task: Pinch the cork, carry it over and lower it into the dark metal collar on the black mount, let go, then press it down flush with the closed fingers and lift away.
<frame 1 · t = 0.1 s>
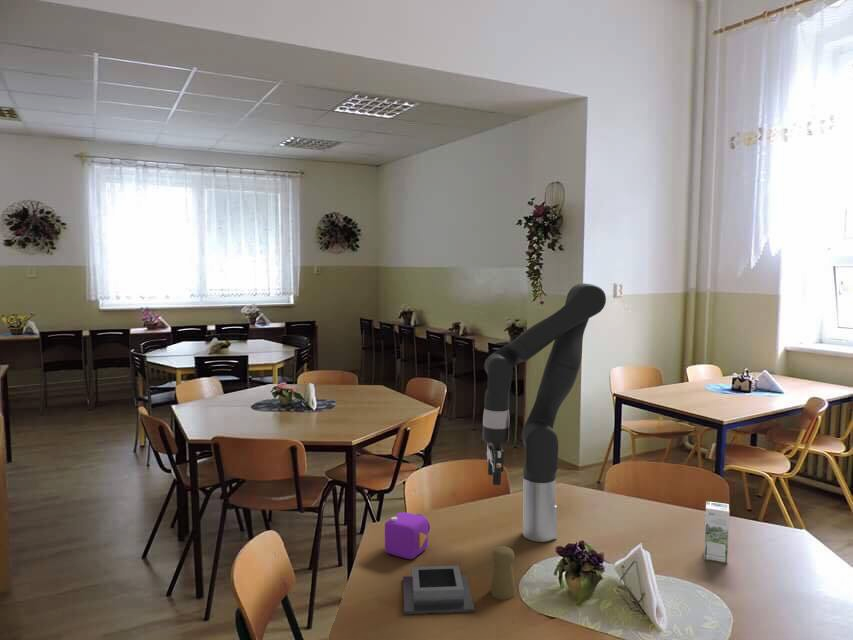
hand: (494, 479, 180), 17 cm above the table, tool pointing down, fingers open, 8 cm apart
collar mount: (437, 595, 150), on the table
syrup box: (715, 558, 168), on the table
toy camera: (409, 549, 175), on the table
cork: (503, 593, 151), on the table
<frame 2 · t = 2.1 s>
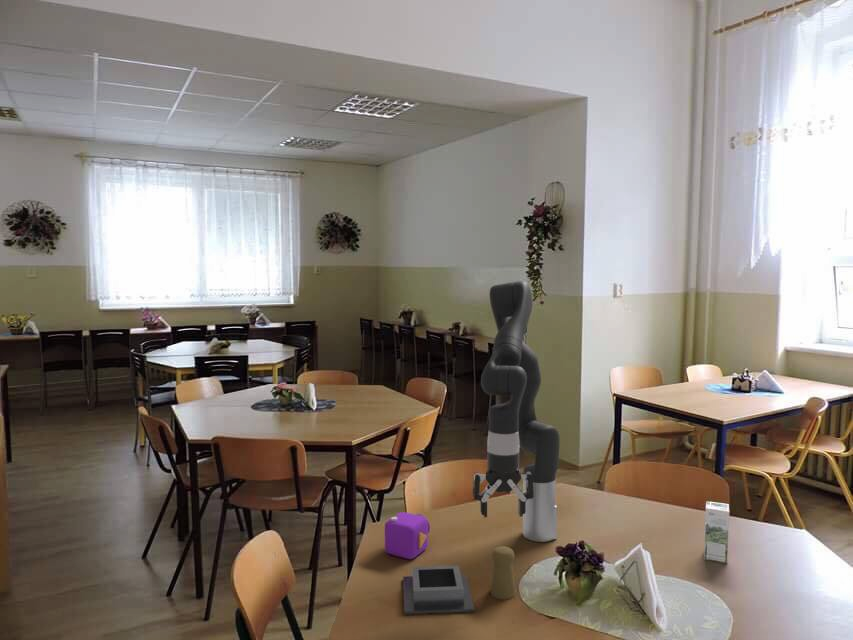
hand: (502, 515, 149), 19 cm above the table, tool pointing down, fingers open, 8 cm apart
nothing on the table moved.
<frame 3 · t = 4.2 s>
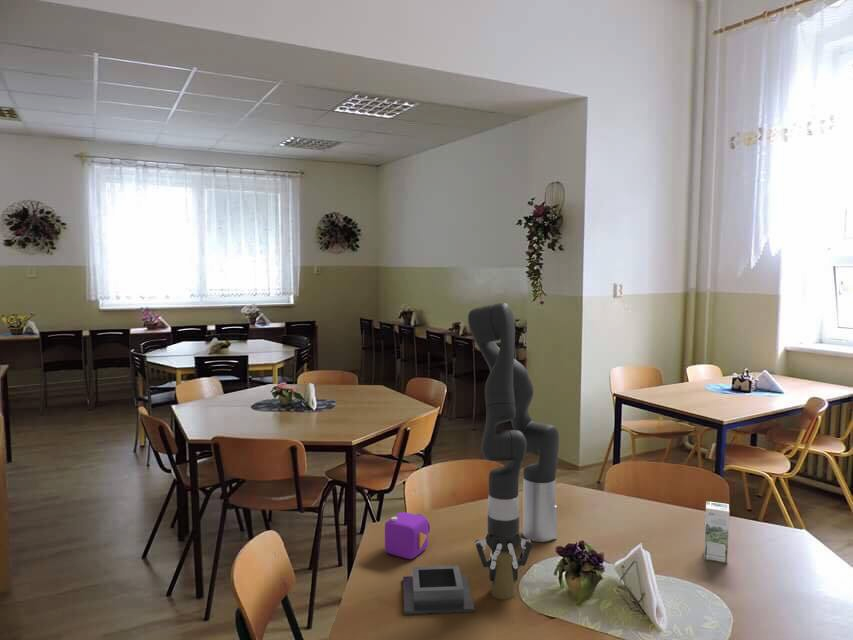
hand: (503, 581, 151), 3 cm above the table, tool pointing down, fingers closed on cork, 4 cm apart
cork: (503, 593, 151), on the table, touching gripper
everything else where it was.
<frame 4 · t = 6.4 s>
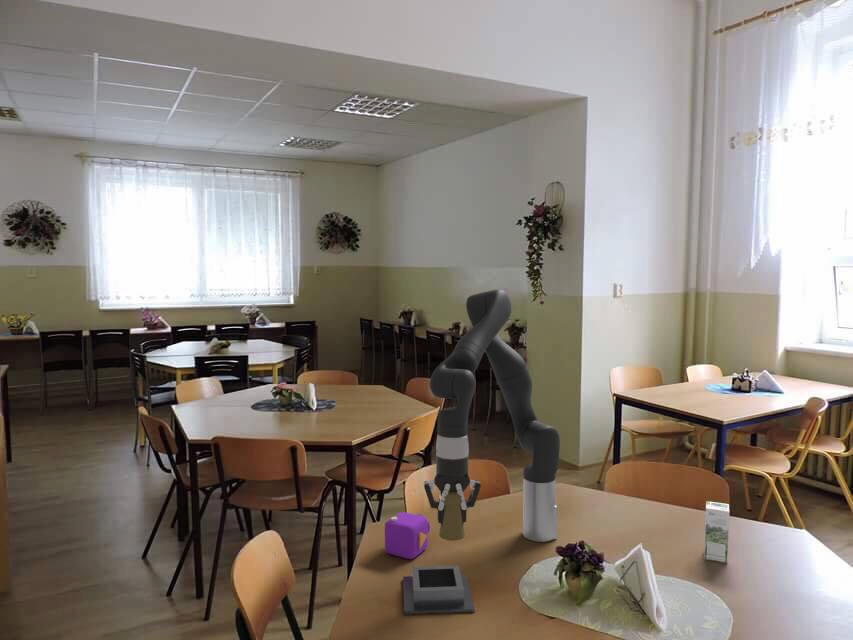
hand: (451, 523, 148), 18 cm above the table, tool pointing down, fingers closed on cork, 4 cm apart
cork: (452, 535, 149), point 15 cm above the table, touching gripper
everything else where it was.
when the fingers open (5 cm above the table, at t = 8.8 s): cork drops 1 cm, resting on collar mount.
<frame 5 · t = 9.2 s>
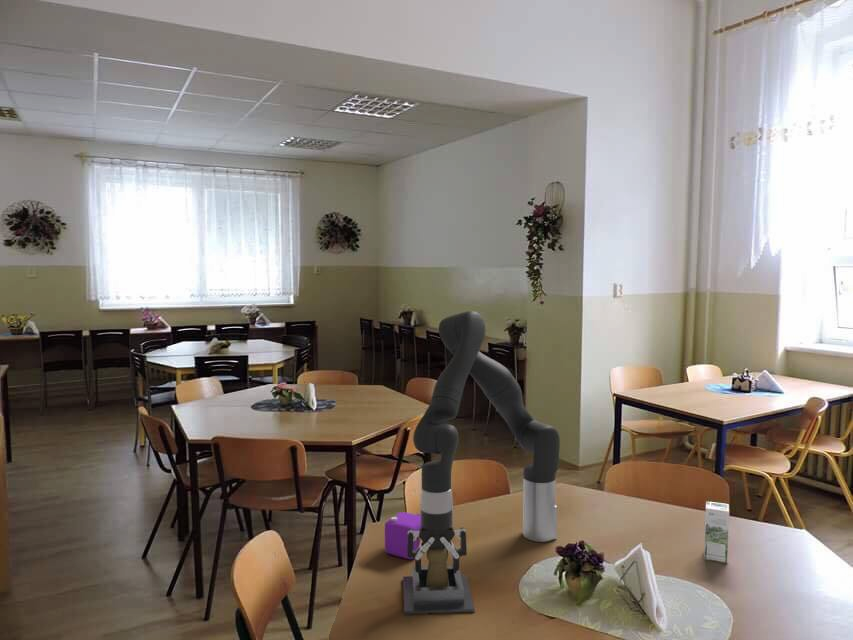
hand: (436, 572, 150), 6 cm above the table, tool pointing down, fingers open, 8 cm apart
cork: (437, 592, 150), point 1 cm above the table, touching collar mount
everything else where it was.
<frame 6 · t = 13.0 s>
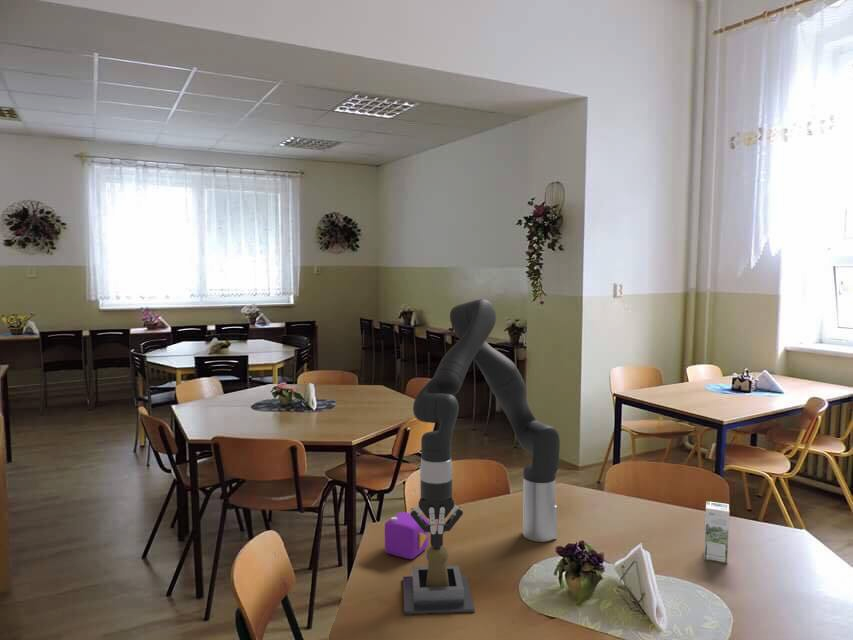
hand: (436, 547, 149), 12 cm above the table, tool pointing down, fingers closed
cork: (437, 592, 150), point 1 cm above the table, touching collar mount, gripper
everything else where it was.
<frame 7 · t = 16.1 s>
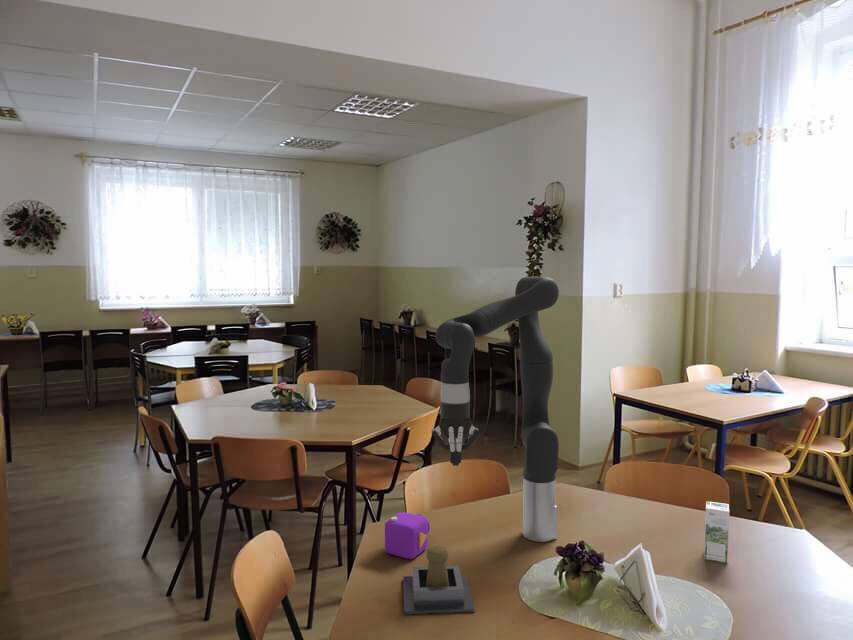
hand: (455, 464, 163), 27 cm above the table, tool pointing down, fingers closed
cork: (437, 592, 150), point 1 cm above the table, touching collar mount
everything else where it was.
at the end: cork 0.1 cm off-centre on the collar mount, point 0.6 cm above the collar mount's base; cork tilted 0°; the gripper is holding nothing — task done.
